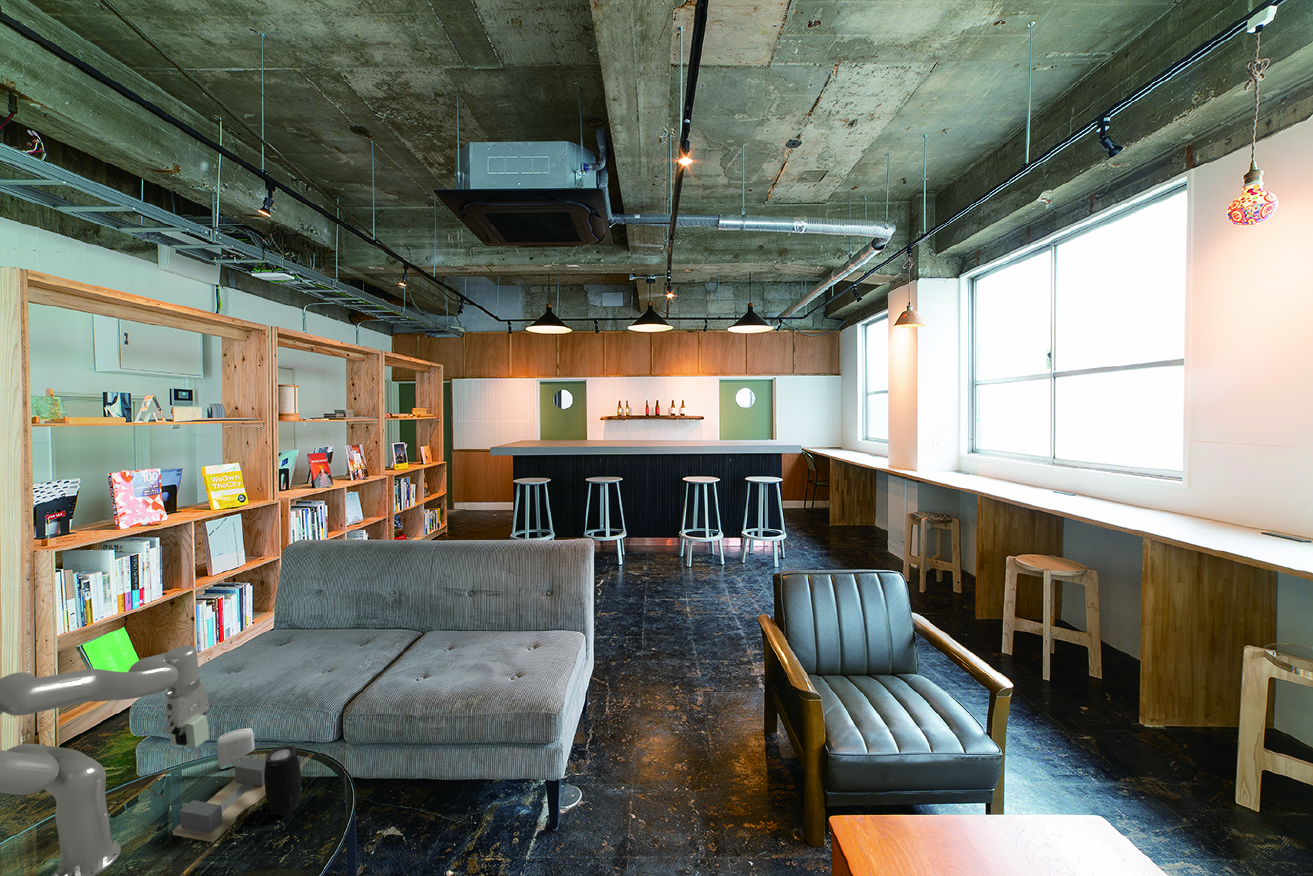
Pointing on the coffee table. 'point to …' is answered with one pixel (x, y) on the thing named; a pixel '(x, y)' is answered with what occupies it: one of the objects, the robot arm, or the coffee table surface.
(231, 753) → the photo printer
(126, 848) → the coffee table surface
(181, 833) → the rail board
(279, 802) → the portable speaker
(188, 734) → the block
